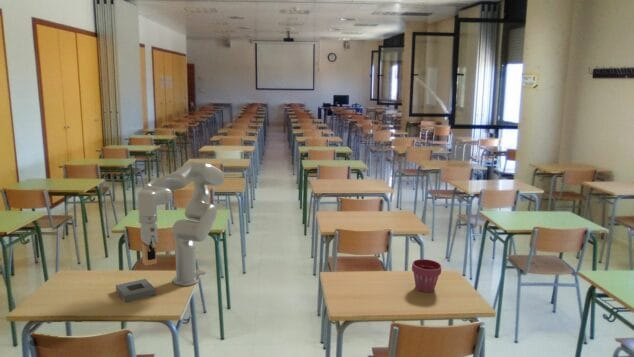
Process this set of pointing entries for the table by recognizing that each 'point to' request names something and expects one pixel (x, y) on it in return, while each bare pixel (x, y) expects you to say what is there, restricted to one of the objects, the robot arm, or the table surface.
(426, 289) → the plant pot
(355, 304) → the table surface
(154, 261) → the plug
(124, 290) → the socket plate
